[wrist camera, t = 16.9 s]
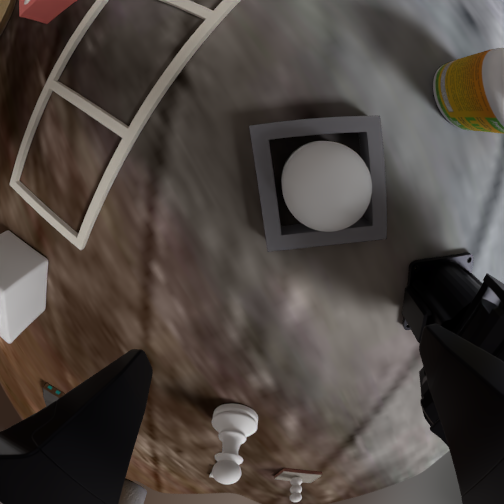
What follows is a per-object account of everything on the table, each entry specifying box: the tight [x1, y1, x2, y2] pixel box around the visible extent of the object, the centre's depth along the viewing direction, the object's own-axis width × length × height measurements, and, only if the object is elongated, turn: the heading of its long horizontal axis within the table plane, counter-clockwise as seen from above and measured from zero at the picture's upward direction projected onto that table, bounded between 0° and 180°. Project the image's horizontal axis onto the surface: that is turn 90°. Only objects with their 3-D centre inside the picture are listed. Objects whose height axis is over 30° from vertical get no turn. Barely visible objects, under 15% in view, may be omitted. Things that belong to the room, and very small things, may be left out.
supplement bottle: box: [433, 48, 504, 133], centre depth 10 cm, size 5×5×10 cm
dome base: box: [249, 116, 387, 252], centre depth 18 cm, size 8×8×2 cm
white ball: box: [281, 141, 372, 232], centre depth 16 cm, size 5×5×5 cm
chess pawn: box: [212, 403, 258, 484], centre depth 25 cm, size 5×5×9 cm
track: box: [10, 0, 241, 250], centre depth 16 cm, size 32×11×1 cm, turn 144°
